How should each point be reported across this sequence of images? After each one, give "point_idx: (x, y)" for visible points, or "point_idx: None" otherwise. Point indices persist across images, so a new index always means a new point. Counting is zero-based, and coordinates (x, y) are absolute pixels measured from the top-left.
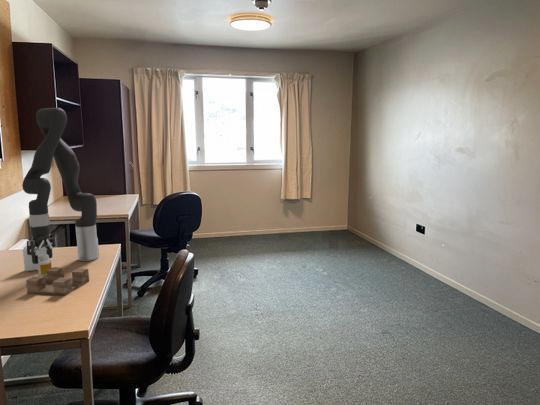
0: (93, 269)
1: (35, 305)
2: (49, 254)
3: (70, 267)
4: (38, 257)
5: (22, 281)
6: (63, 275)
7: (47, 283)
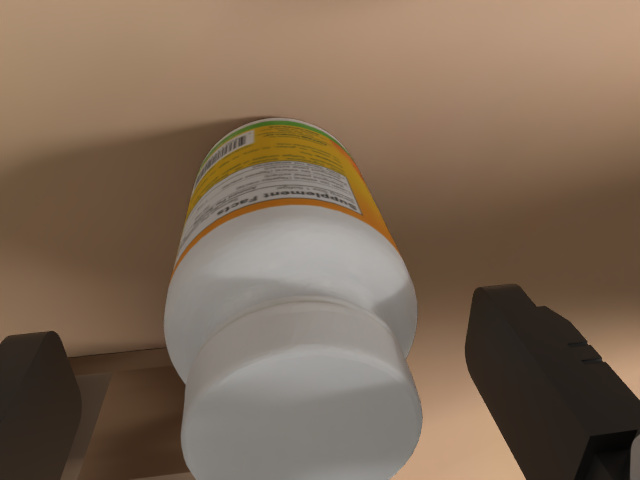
0: None
1: None
2: (502, 395)
3: (636, 229)
4: (196, 383)
5: (16, 3)
6: None
7: None
